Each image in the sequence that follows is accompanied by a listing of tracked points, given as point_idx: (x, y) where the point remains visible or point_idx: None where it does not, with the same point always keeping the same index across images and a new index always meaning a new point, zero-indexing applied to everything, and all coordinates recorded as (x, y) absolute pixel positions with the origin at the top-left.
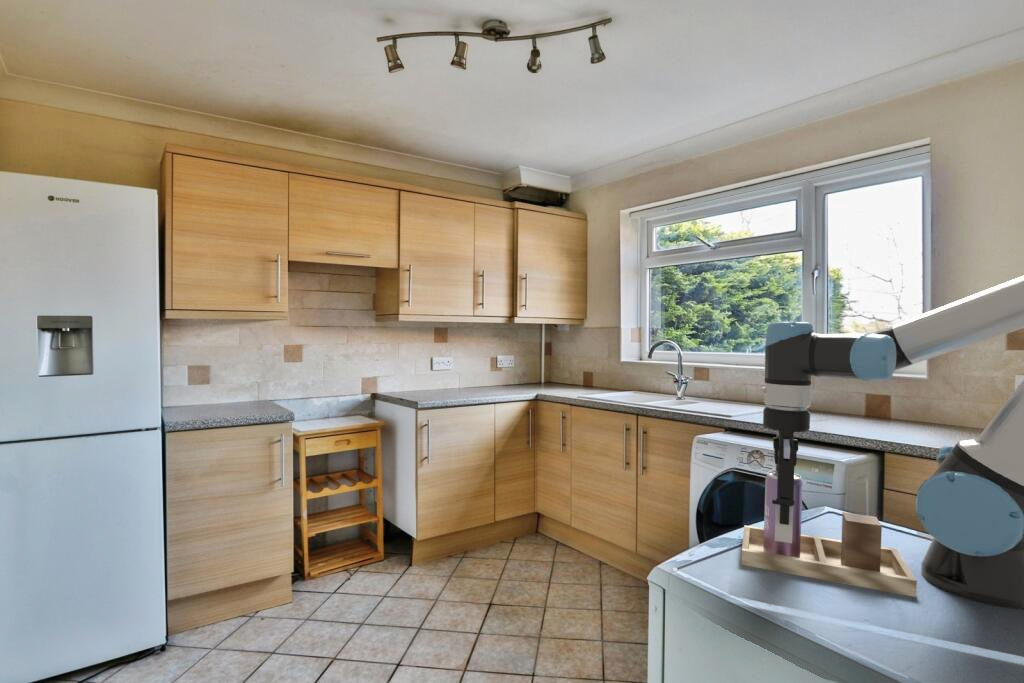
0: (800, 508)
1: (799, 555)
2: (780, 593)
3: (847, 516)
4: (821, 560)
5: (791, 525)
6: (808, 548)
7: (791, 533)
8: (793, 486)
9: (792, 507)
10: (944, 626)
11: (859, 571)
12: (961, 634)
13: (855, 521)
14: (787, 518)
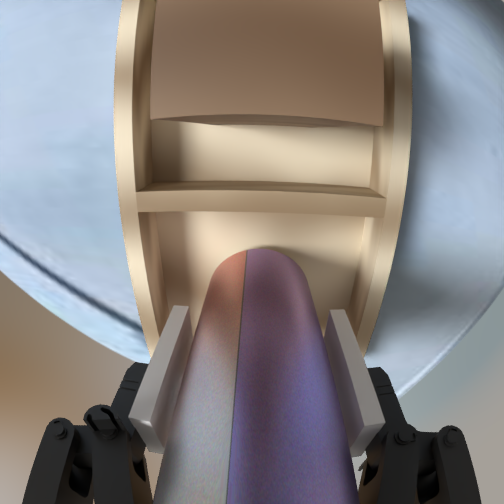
0: (301, 382)
1: (278, 255)
2: (438, 286)
3: (265, 93)
4: (372, 212)
5: (361, 356)
6: (154, 215)
7: (353, 334)
8: (479, 495)
9: (381, 417)
10: (460, 18)
11: (410, 111)
12: (471, 10)
13: (375, 68)
14: (389, 390)
